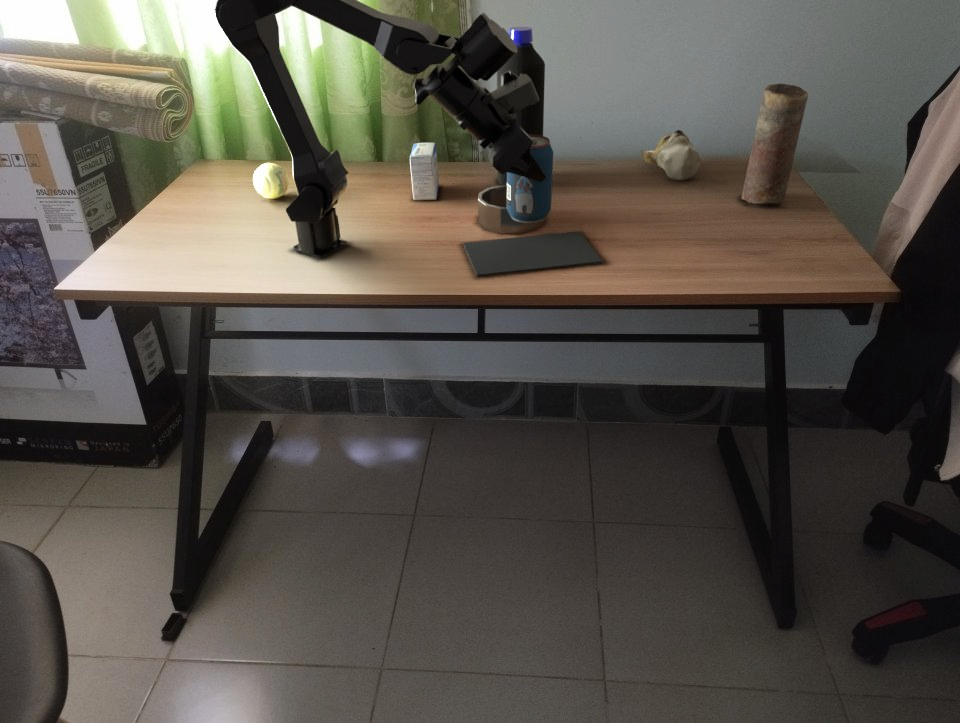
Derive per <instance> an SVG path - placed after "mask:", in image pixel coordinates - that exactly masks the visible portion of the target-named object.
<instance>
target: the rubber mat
mask: <svg viewBox="0 0 960 723" xmlns="http://www.w3.org/2000/svg"><path fill="white" fill-rule="evenodd" d="M462 245H463V248H464V250H465V253H466V255H467V257H468V260H469V262H470V264H471V266H472V269H473V271H474V273H475V275H476V277H477V278H480V277H490V276H499V275H510V274H516V273H517V274H518V273H526V272H527V273H528V272H535V271H545V270H555V269H564V268H570V267H571V268H572V267H580V266H590V265H600V264H603V260H602V258H601V257H600V256H599V255H598V253H597V252H596V251H595V249H594V248H593V247H592V246H591V244H590V243H589V241H588V240H587V239H586V238H585V237H584V235H583V234H582V233H581V231H580V230H575V231H565V232H557V233H547V234H538V235H536V234H535V235H526V236H516V237H508V238H498V239H488V240H479V241H468V242H463V243H462Z"/></svg>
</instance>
